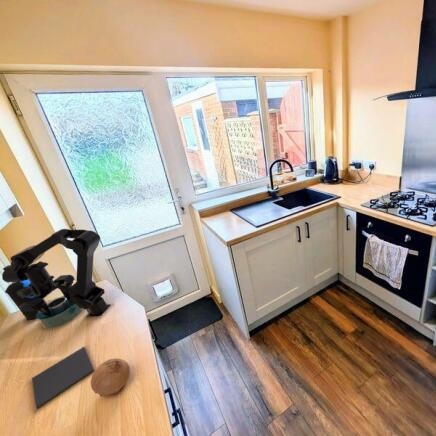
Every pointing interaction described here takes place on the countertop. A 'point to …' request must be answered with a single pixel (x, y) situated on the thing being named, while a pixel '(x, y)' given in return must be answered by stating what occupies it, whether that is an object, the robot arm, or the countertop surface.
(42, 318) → the teal bowl
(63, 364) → the trivet
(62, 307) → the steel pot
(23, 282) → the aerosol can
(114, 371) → the brown coconut
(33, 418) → the countertop surface
